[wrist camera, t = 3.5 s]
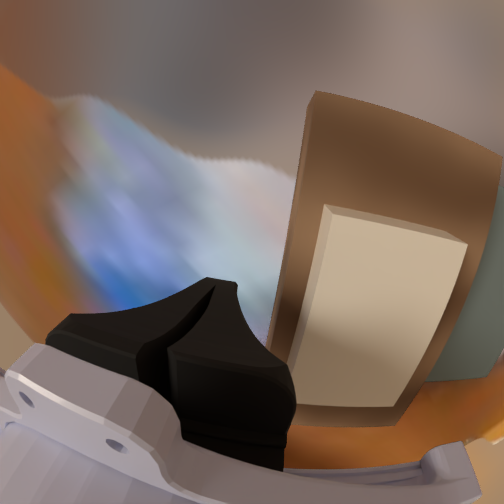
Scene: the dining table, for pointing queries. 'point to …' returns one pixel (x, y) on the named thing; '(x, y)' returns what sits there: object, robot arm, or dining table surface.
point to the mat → (479, 313)
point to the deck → (385, 204)
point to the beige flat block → (370, 307)
